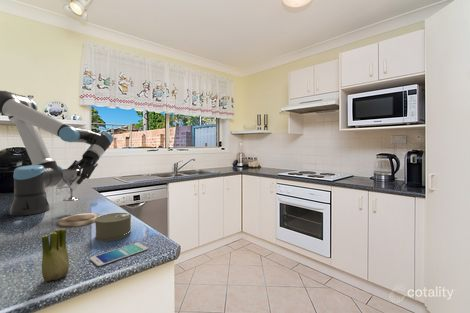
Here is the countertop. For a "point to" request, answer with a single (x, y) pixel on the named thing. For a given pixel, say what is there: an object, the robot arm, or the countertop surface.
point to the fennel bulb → (54, 256)
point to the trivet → (78, 220)
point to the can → (113, 226)
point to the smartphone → (117, 254)
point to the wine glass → (70, 180)
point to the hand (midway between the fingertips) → (65, 188)
